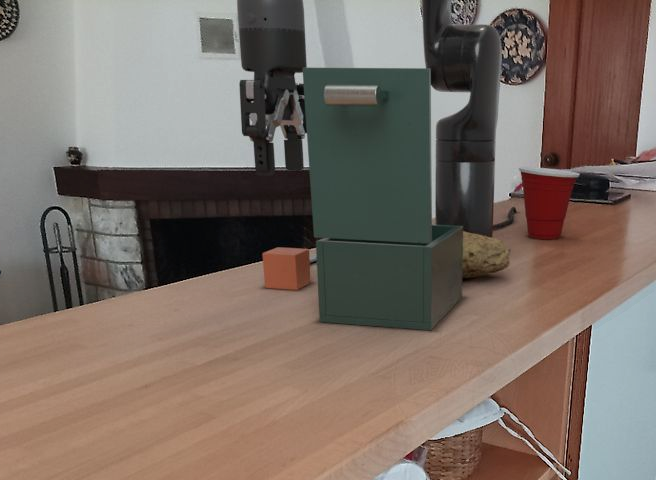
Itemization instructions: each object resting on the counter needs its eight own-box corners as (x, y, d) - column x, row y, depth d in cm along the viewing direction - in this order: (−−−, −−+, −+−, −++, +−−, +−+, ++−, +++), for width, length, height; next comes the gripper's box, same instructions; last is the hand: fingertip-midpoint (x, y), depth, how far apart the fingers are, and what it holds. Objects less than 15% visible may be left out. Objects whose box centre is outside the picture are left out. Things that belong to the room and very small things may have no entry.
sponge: (350, 286, 108) (474, 272, 97) (346, 228, 107) (470, 208, 96) (406, 286, 118) (523, 274, 108) (403, 234, 118) (520, 217, 107)
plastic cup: (579, 242, 137) (584, 171, 132) (517, 241, 137) (520, 170, 133) (571, 232, 147) (576, 166, 143) (514, 231, 147) (517, 165, 143)
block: (279, 280, 104) (277, 247, 103) (311, 282, 103) (309, 248, 102) (264, 288, 100) (262, 253, 99) (297, 290, 99) (295, 255, 98)
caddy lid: (305, 67, 76) (282, 68, 71) (430, 68, 73) (416, 69, 69) (316, 236, 82) (296, 246, 78) (432, 242, 80) (418, 253, 75)
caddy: (365, 290, 100) (363, 221, 96) (462, 297, 97) (463, 225, 94) (319, 322, 85) (315, 241, 82) (430, 330, 83) (431, 247, 80)
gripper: (276, 21, 83) (285, 178, 89) (325, 33, 96) (330, 169, 102) (211, 21, 85) (224, 176, 90) (268, 33, 98) (277, 167, 103)
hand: (280, 172), depth 96 cm, fingers open, 8 cm apart
